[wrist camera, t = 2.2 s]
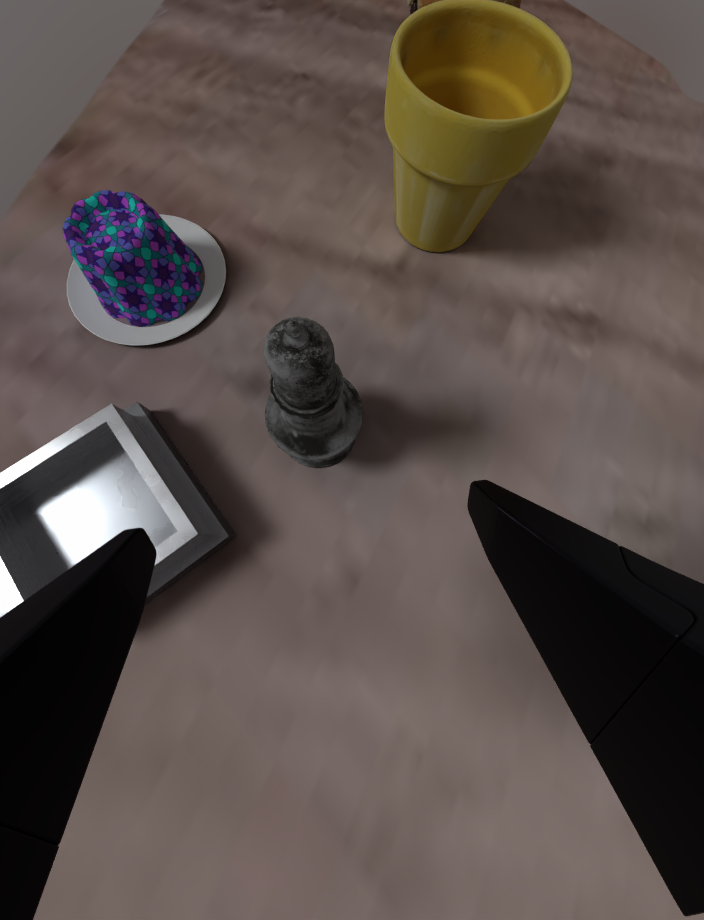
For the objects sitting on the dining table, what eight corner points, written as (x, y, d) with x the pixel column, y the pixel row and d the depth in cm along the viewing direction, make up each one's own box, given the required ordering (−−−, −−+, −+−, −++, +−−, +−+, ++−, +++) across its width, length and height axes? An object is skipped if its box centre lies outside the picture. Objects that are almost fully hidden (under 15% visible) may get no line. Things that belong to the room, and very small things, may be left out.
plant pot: (509, 195, 28) (592, 21, 19) (477, 288, 26) (554, 144, 16) (397, 160, 29) (422, -25, 19) (356, 248, 27) (363, 88, 17)
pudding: (253, 313, 25) (230, 257, 20) (101, 376, 24) (35, 332, 19) (197, 204, 28) (164, 128, 22) (56, 254, 26) (-14, 185, 21)
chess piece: (334, 379, 24) (324, 228, 12) (375, 446, 23) (409, 350, 11) (262, 417, 23) (177, 293, 11) (301, 487, 22) (253, 432, 10)
